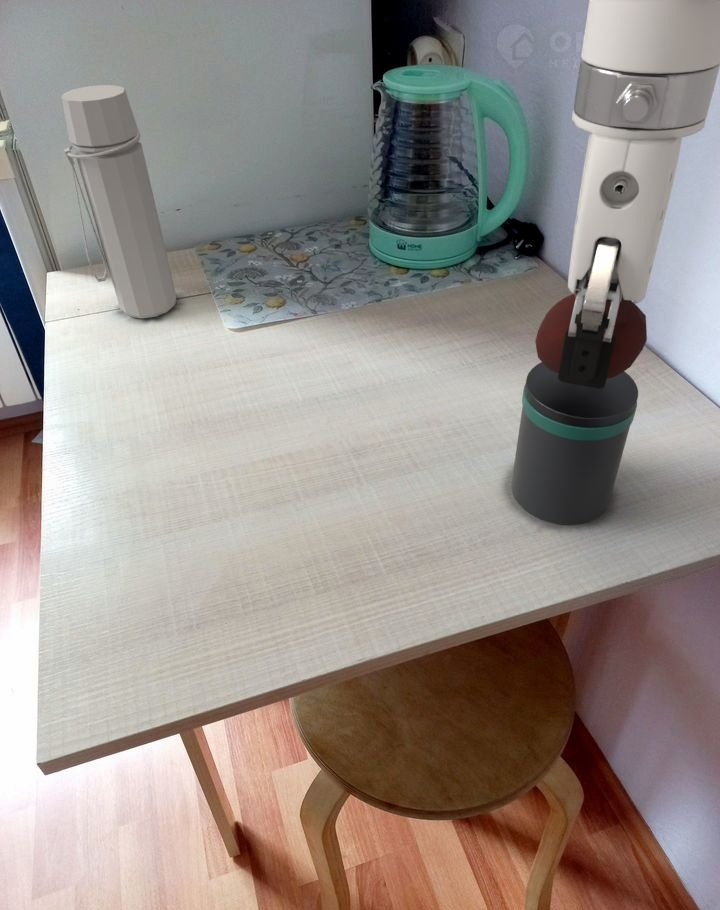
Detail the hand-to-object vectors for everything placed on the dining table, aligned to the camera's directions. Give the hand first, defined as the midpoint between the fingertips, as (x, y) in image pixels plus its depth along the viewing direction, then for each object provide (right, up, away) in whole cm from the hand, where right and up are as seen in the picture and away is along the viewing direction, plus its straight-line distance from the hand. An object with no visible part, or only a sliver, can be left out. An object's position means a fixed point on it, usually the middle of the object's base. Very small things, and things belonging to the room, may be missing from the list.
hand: (589, 350), depth 52 cm
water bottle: (-45, +11, +37) cm, 59 cm away
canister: (0, -11, +9) cm, 14 cm away
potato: (0, -2, +1) cm, 2 cm away
